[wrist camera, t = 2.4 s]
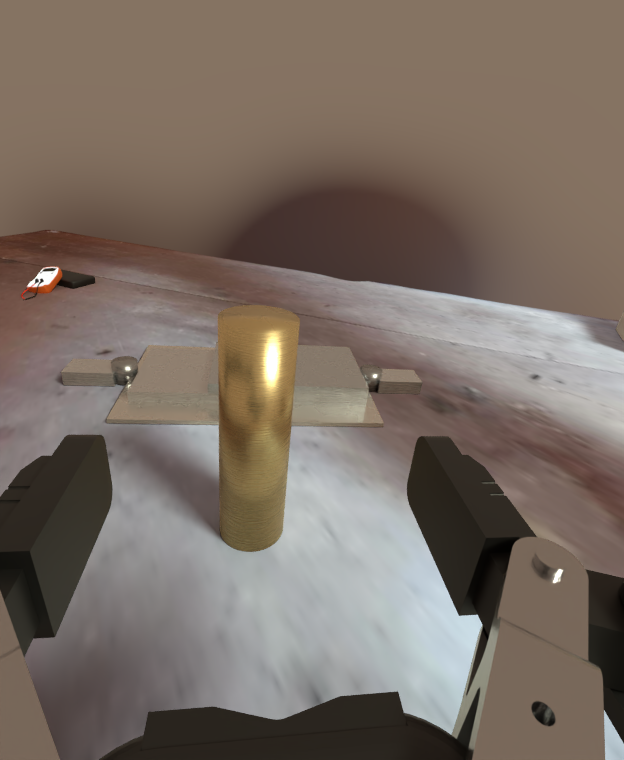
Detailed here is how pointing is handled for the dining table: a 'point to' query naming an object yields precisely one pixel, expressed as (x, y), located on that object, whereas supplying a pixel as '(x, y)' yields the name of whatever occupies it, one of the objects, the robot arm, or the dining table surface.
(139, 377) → the peg-in-hole plate
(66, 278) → the multimeter
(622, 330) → the parts tray
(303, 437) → the dining table surface
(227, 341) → the pin
